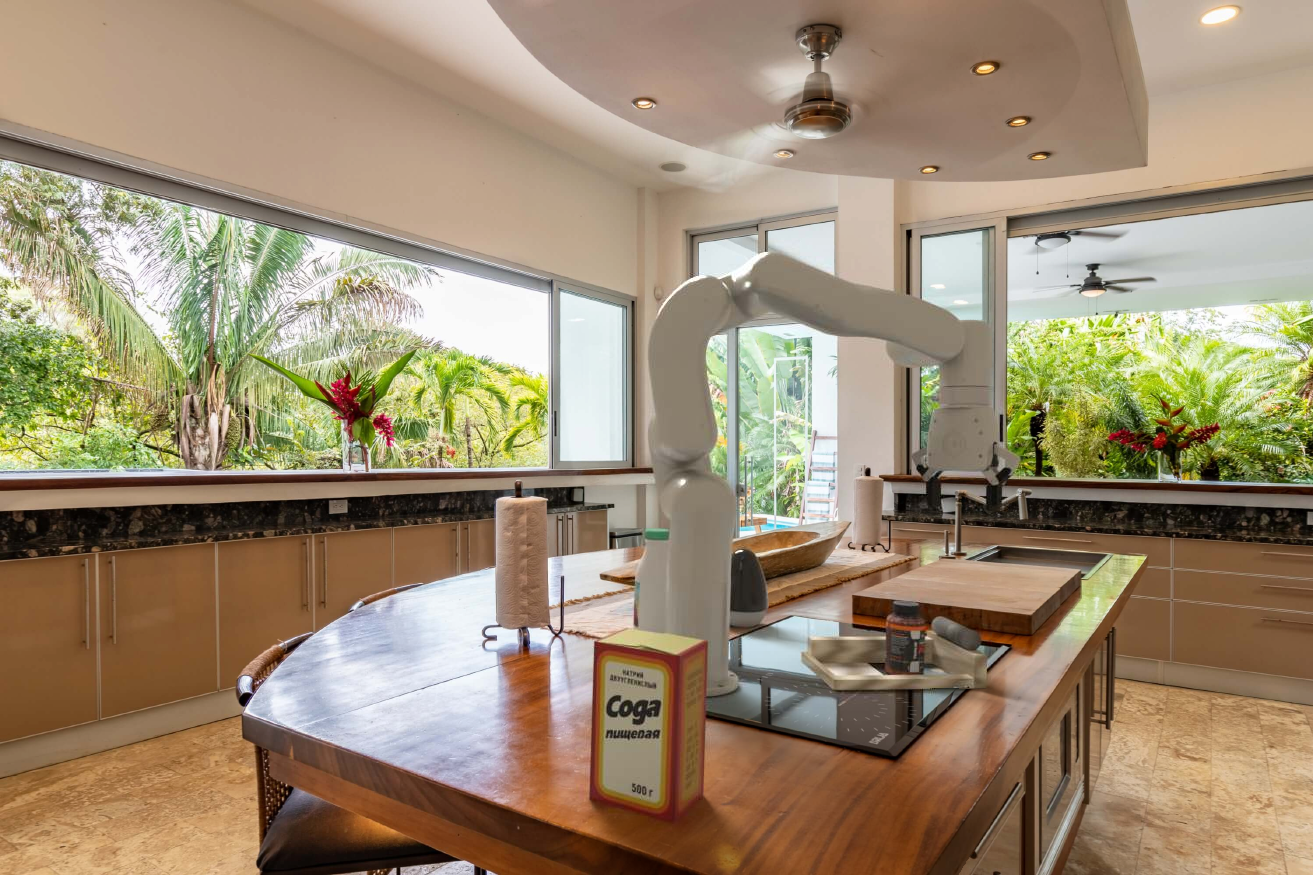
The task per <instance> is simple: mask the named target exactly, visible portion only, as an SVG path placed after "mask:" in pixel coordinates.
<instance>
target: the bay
mask: <svg viewBox="0 0 1313 875" xmlns="http://www.w3.org/2000/svg"><path fill="white" fill-rule="evenodd" d="M931 629H932V630H926V635H925V653H924V664H932V665H934V666H936V667H937V668H939V669H941V670H942V671H944V672H945V673H947V674H923V675H891V674H883V673H881V672H880V671H879V670H877V669H876V668H874V667H873V666H871V664H869V663H885V648H886V636H807V647H806V648H807V651H801V659H800V660H801V662H802V663H803V664H804V665H807V666H806V667H808V668H809V670H811V671H812V672H813V673H814V674H816V676H818V677H819V678H820V679H821V680H822V681H824V683H825V684H827V685H828V687H830V689H832V690H834V691H859V690H860V691H862V690H863V691H865V690H866V691H868V690H870V691H871V690H878V691H879V690H933V689H932V688H954V687H965V686H967V687H969V688H968V689H987V681H988V680H987V677H988V676H987V675H988V673H987V670H988V654H986V653H984V652H982V651H980V650H978V649H979V648H980V646H981V644H982V637H981V634H980V633H978V632H977V631H975V630H973V629H971V628H970V627H969V628H968V627H966V626H964V625H962V624H960V623H957V622H955V621H954V620H951V619H949V618H946V617H945V616H936V617H935V618H934V619H932V621H931ZM930 688H931V689H930Z"/></svg>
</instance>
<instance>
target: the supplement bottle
mask: <svg viewBox="0 0 1313 875" xmlns="http://www.w3.org/2000/svg"><path fill="white" fill-rule="evenodd" d="M892 610H893V612H892V613H890V614H888V615H887V617H886V621H885V628H886V629H885V637H886V648H885V664H884V665H885V666H884V669H885V671H886V672H887V673H888V675H925V674H924V673H925V672H924V670H925V663H924V653H925V636H926V621H925V619H924V618H923V617H922V616H921V614H920V604H919V603H918V602H915V601H907V600H894V601H893V604H892Z"/></svg>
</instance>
